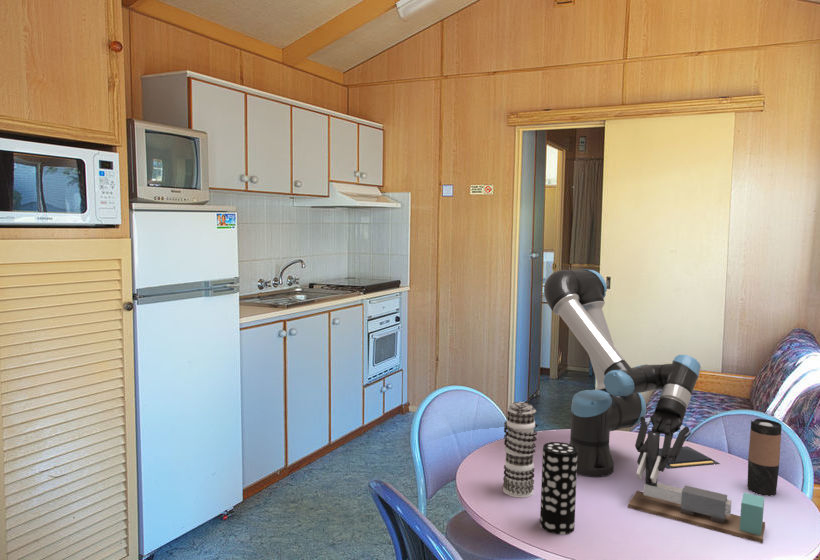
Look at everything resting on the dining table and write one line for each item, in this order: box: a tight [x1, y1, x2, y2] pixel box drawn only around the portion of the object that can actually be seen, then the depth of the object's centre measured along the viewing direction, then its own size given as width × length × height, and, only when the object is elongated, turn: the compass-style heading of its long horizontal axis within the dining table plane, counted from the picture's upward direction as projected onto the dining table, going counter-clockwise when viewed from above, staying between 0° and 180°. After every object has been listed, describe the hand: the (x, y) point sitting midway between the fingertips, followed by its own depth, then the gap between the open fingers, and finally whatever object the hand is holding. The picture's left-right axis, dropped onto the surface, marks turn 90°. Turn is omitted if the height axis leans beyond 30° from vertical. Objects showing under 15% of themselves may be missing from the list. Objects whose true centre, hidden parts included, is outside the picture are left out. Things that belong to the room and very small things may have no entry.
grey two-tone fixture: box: [643, 430, 733, 516], centre depth 154 cm, size 20×3×17 cm, turn 56°
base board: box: [627, 490, 766, 544], centre depth 153 cm, size 31×10×1 cm, turn 56°
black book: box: [659, 445, 721, 470], centre depth 194 cm, size 20×2×15 cm
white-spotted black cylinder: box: [539, 441, 578, 535], centre depth 146 cm, size 8×8×20 cm
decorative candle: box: [502, 401, 538, 499], centre depth 166 cm, size 9×9×25 cm
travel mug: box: [747, 418, 783, 497], centre depth 169 cm, size 8×8×20 cm
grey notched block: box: [681, 484, 728, 524], centre depth 152 cm, size 10×5×6 cm, turn 56°
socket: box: [739, 492, 765, 536], centre depth 146 cm, size 4×7×7 cm, turn 146°
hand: (645, 478), depth 156 cm, fingers closed on grey two-tone fixture, 3 cm apart
